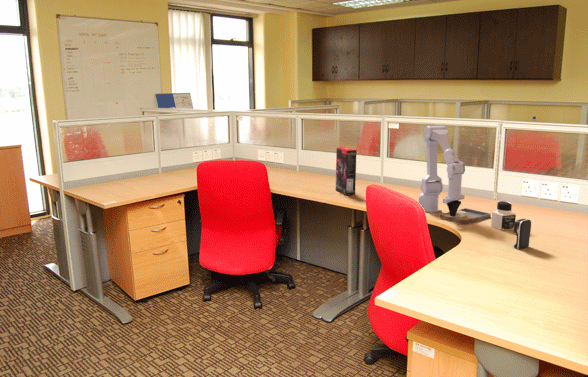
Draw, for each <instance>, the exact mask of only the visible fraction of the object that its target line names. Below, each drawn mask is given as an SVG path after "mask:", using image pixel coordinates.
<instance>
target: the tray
mask: <svg viewBox="0 0 588 377" xmlns="http://www.w3.org/2000/svg"><path fill="white" fill-rule="evenodd" d="M459 210H460V211H464V212H467V215H471V216H475V217H478V221H477V222H480V221H482V220H485V219H488V218H491V217H492V213H490V212H485V211H481V210H477V209H471V208H466V207H465V208H460V209H459Z"/></svg>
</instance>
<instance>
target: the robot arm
mask: <svg viewBox="0 0 588 377" xmlns="http://www.w3.org/2000/svg"><path fill="white" fill-rule="evenodd" d="M423 131H424V132H423V133H424V134H423V136H424V137H423V138H424V139H423V140H424V142H425V144H426V147H425V148H426V175H425V176H424V177H423V178H421V184H420V190H421V193H420V194H419V197H418V204H419V203H420V204H421V205H422V207H423V208H424V210H425V211H424V212H426V213H430V214H435V213H438V212H441V211H442V209H439V196H440V195H441V193H442V192H443V190H444V184H443V179H442V177H440V176H439V175H438V148H437V147H438V144H439V146H440V147H441V149H442V151H443V153H442V154H443V155H442V157H443V158H444V161H445V163H446V165H447V167H446V173H447V178H448V185H447V186H448V187H447V196H446V197H445V198H442V204H446V206H447V208H448V212H449V213H450V216H453V217H454V216H455V215H456V213H457V210H459V207H460V205H461V204H462V201H463V200H465V194H461V192H462V181H463V180H462V178H463V175H464V174H465V173H466V172H465V171H466V166H465V163H464V162H463V161H461V160H459V157H458V155H457V153H456V151H455V149H452V147H451V145H450V141H449V138H448V134H449V131H448V128H447V126H446V125H445V124H443V125H427V126H426V127H425V128H424V130H423Z"/></svg>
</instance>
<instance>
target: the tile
mask: <svg viewBox="0 0 588 377" xmlns="http://www.w3.org/2000/svg"><path fill="white" fill-rule="evenodd" d="M466 215H467V212H464V211H460V209H458V210H457V213H456V215H455V217H459V218H462V217H465V216H466Z"/></svg>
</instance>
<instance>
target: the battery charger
mask: <svg viewBox="0 0 588 377" xmlns="http://www.w3.org/2000/svg"><path fill="white" fill-rule="evenodd" d="M512 230H513V233H515V235H516V241H515V244H514V245H513V247H514V248H515V249H517V250H522V249H525V248H527V247H529V245H530V238H531V232H532V231H531V230H532V220H530V219H529V218H521V219H517V220H515V223H514V229H512Z"/></svg>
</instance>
